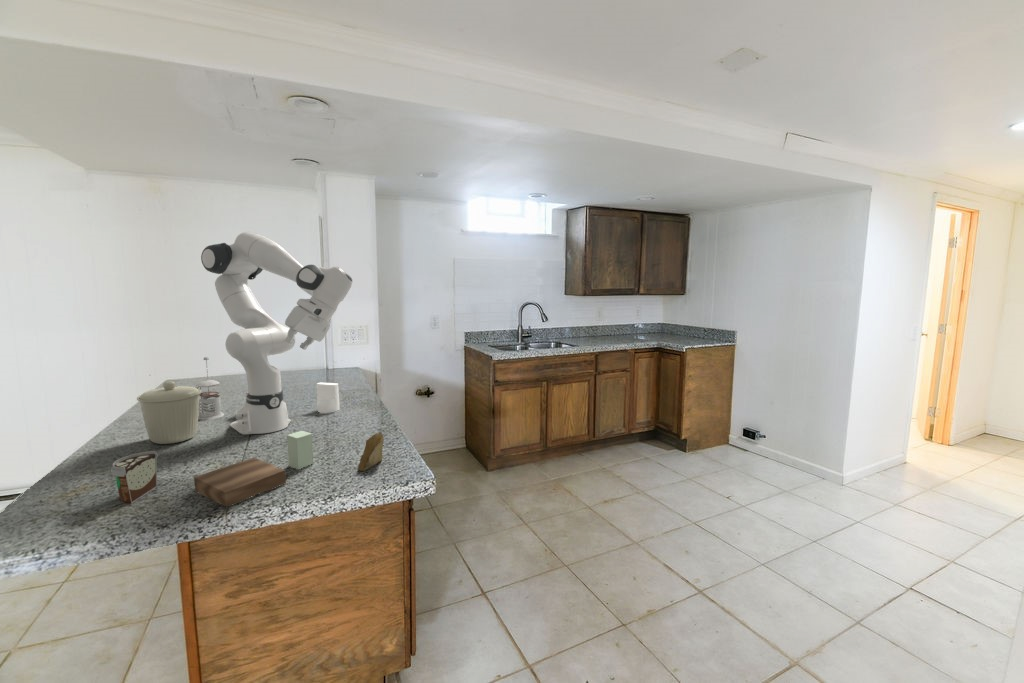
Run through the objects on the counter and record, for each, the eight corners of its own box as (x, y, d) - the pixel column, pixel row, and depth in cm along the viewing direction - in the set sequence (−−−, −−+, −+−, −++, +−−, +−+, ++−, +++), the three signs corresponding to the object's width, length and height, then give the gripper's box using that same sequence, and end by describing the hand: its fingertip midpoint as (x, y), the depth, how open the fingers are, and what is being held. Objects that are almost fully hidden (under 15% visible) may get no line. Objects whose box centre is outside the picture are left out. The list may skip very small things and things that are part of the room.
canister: (169, 430, 169) (164, 375, 166) (216, 431, 168) (212, 376, 165) (126, 447, 151) (120, 386, 148) (179, 449, 150) (174, 388, 148)
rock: (364, 468, 133) (393, 455, 140) (352, 443, 135) (381, 430, 142) (353, 479, 140) (381, 466, 147) (342, 455, 142) (370, 442, 149)
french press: (214, 420, 181) (209, 359, 178) (185, 419, 182) (180, 358, 178) (229, 412, 191) (225, 355, 188) (202, 412, 191) (198, 354, 188)
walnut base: (195, 491, 122) (193, 477, 121) (254, 470, 135) (253, 457, 135) (226, 507, 114) (225, 492, 113) (285, 483, 127) (285, 470, 127)
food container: (137, 484, 125) (133, 450, 123) (160, 484, 125) (157, 450, 124) (100, 507, 113) (96, 469, 111) (127, 506, 113) (123, 468, 112)
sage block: (288, 466, 139) (287, 435, 138) (303, 460, 143) (301, 430, 142) (298, 469, 136) (296, 438, 135) (313, 464, 141) (311, 433, 139)
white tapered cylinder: (313, 412, 194) (311, 385, 192) (324, 406, 203) (323, 380, 201) (332, 414, 192) (331, 386, 191) (343, 408, 201) (342, 382, 199)
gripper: (325, 315, 163) (303, 347, 160) (296, 297, 143) (270, 334, 141) (339, 323, 162) (317, 356, 160) (312, 306, 142) (286, 343, 140)
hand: (295, 345), depth 150 cm, fingers open, 8 cm apart
